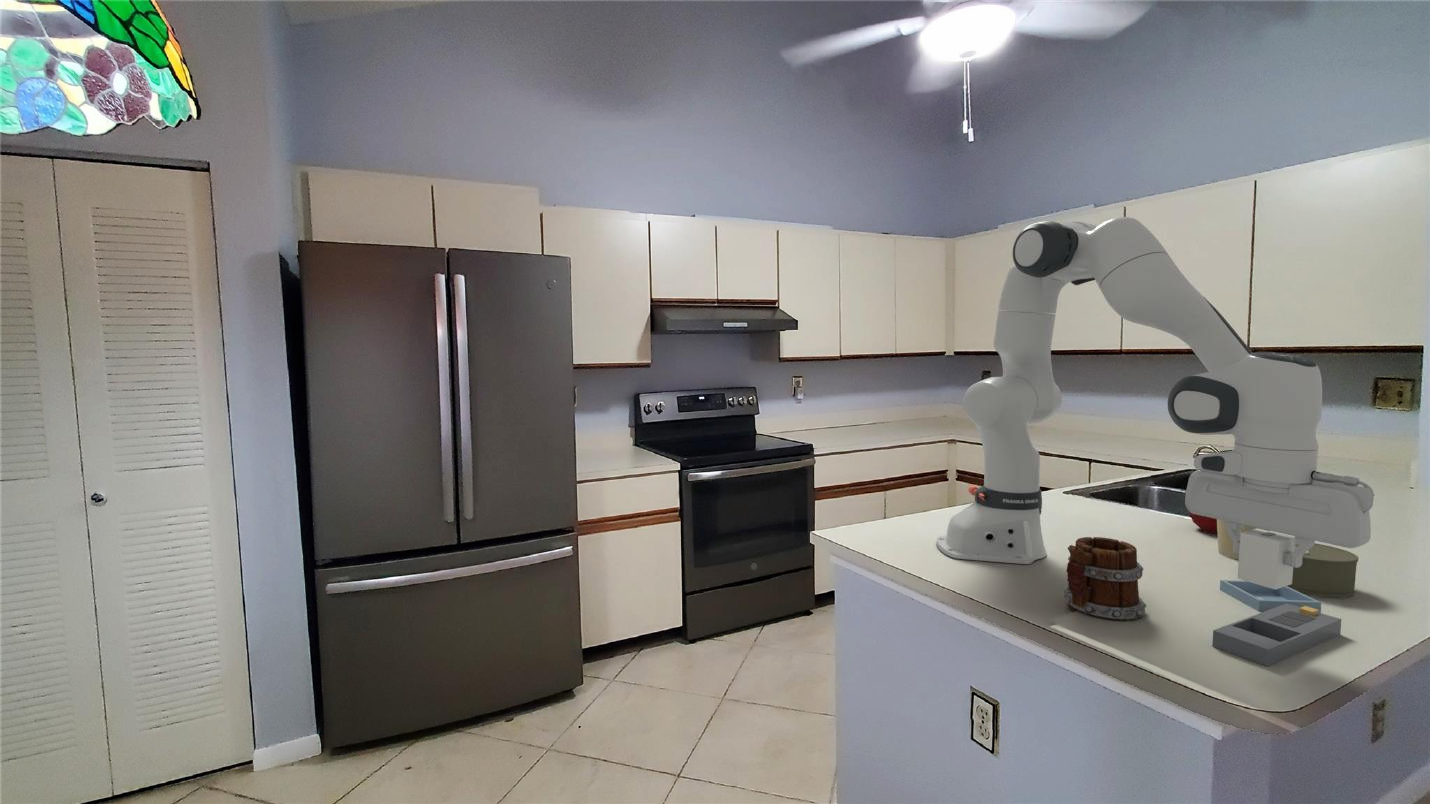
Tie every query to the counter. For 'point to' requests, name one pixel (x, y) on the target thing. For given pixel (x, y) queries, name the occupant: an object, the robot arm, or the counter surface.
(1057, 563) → the counter surface
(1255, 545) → the charger
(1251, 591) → the tray
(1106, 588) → the mug
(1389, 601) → the counter surface
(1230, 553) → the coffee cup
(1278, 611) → the grey compartment box
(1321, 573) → the can
